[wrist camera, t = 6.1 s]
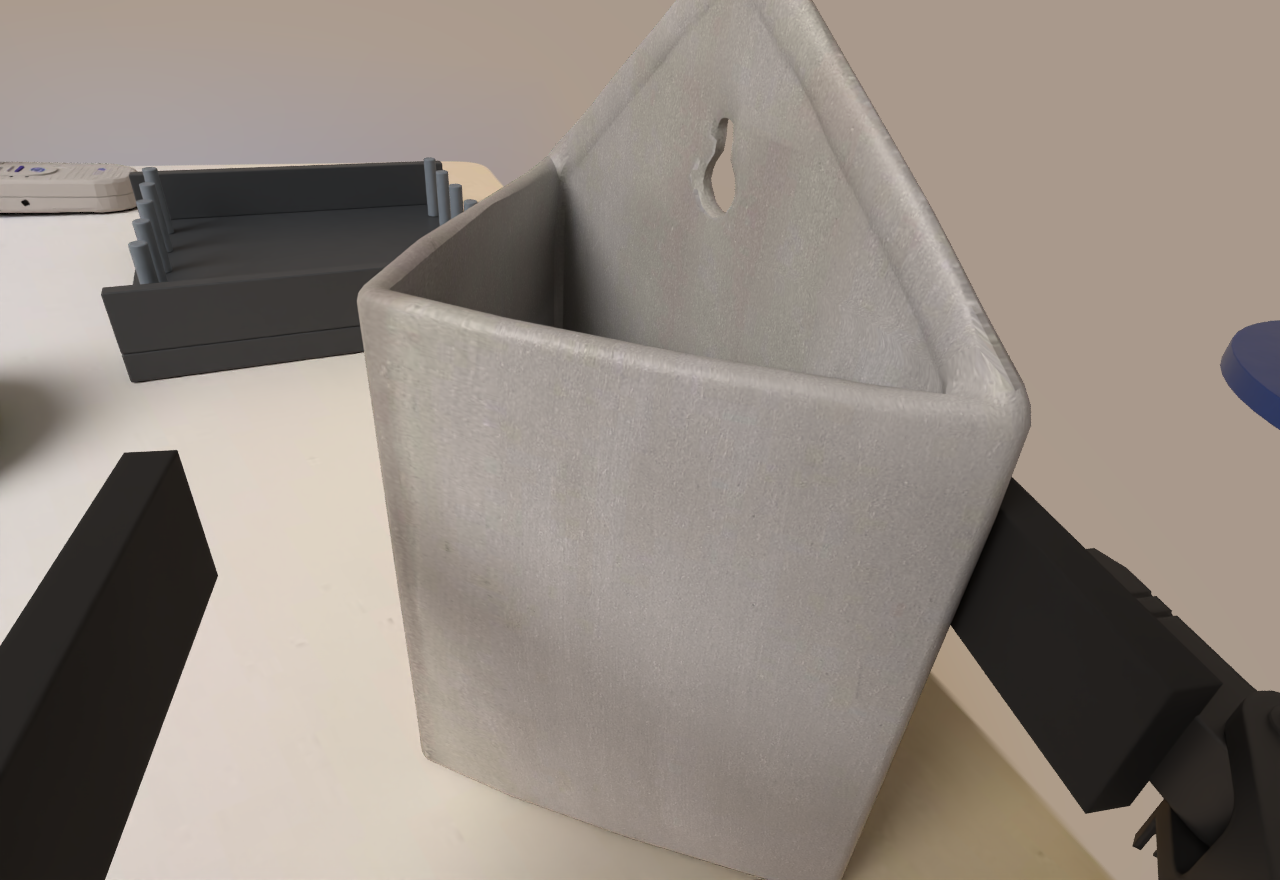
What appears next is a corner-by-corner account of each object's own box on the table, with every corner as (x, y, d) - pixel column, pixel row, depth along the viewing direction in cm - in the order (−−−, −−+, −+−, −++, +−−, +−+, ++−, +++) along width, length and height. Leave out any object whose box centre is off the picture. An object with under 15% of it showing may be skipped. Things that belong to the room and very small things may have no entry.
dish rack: (443, 219, 59) (438, 146, 56) (534, 329, 43) (533, 236, 40) (148, 240, 51) (124, 155, 48) (130, 383, 35) (92, 272, 32)
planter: (353, 570, 26) (223, -119, 15) (560, 509, 30) (570, -83, 19) (547, 1089, 15) (558, -186, 4) (845, 887, 18) (1263, -64, 8)
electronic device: (102, 71, 50) (-195, 55, 44) (140, 218, 55) (-122, 220, 50) (117, 60, 54) (-154, 45, 49) (151, 198, 59) (-91, 197, 54)
